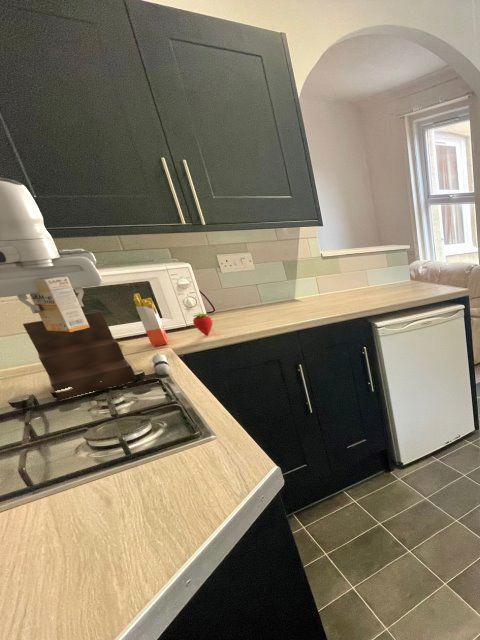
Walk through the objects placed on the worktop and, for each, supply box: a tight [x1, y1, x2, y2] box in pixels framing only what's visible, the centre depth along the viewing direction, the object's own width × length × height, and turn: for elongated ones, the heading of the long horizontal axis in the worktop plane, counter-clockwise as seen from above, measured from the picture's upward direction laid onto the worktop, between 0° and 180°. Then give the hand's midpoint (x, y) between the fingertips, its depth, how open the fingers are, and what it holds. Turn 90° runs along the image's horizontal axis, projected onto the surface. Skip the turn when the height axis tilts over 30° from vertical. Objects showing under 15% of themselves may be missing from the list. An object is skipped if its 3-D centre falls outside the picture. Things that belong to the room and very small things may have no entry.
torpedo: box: [149, 345, 171, 376], centre depth 127 cm, size 18×5×6 cm, turn 42°
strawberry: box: [192, 313, 213, 336], centre depth 159 cm, size 6×8×10 cm
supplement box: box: [28, 277, 89, 332], centre depth 104 cm, size 8×5×13 cm, turn 76°
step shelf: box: [22, 310, 138, 401], centre depth 116 cm, size 16×19×18 cm
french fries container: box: [133, 293, 169, 347], centre depth 150 cm, size 5×11×18 cm, turn 36°
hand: (59, 309), depth 105 cm, fingers closed on supplement box, 6 cm apart
